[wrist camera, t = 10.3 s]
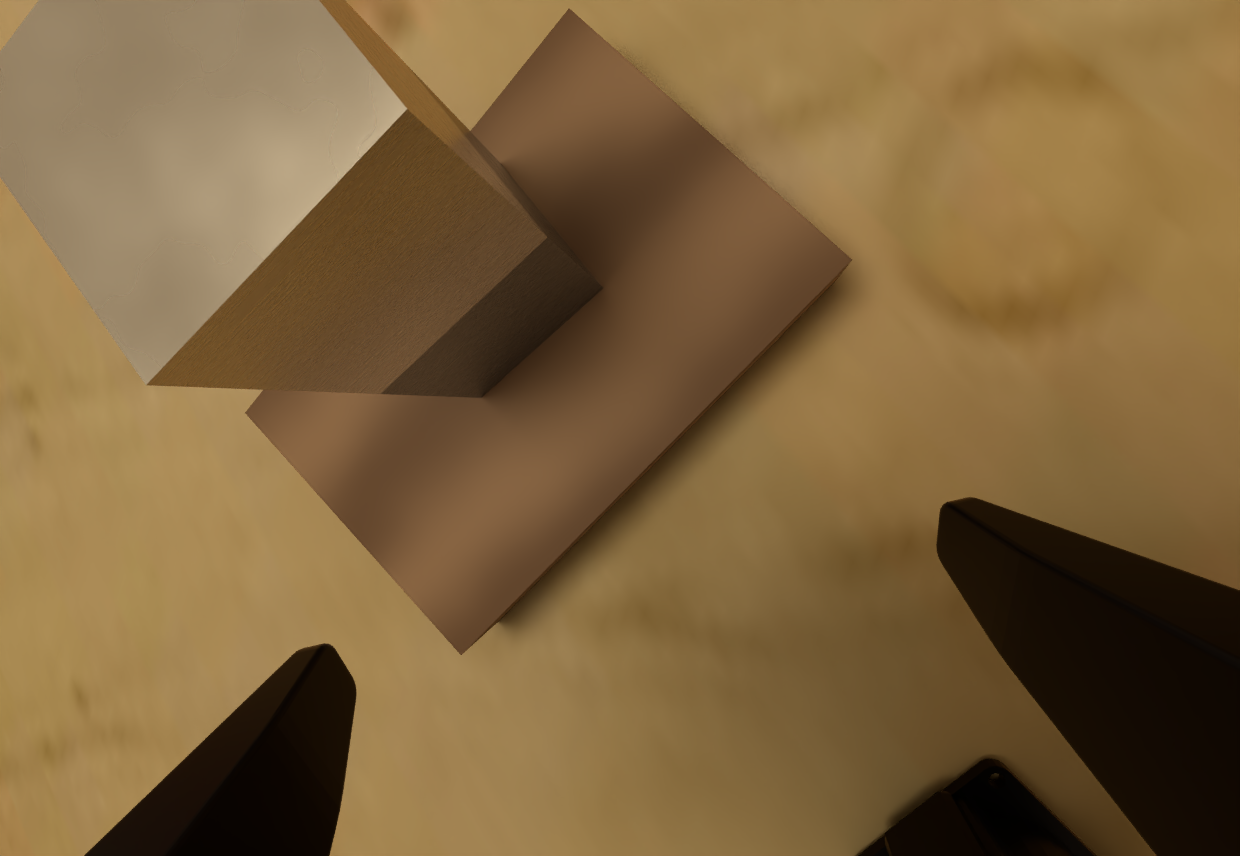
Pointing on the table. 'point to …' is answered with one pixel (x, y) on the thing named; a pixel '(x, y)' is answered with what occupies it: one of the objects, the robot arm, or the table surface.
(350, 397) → the stand
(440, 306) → the block
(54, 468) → the table surface
